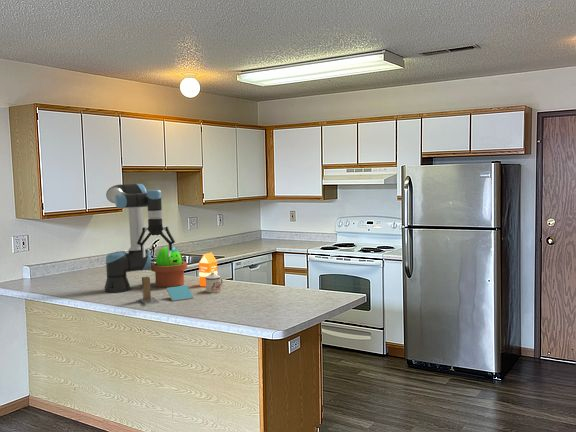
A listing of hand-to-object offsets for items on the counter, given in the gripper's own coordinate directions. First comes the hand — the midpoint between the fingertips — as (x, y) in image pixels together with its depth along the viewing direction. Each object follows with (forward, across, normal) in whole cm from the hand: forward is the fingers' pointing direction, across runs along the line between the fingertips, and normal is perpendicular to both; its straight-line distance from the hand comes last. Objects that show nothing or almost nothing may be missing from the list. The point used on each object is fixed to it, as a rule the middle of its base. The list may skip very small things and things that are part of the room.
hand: (156, 256), depth 301 cm
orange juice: (+26, +23, +42) cm, 55 cm away
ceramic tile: (+23, +11, +6) cm, 26 cm away
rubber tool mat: (+25, -5, -1) cm, 26 cm away
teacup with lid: (+26, +29, +23) cm, 45 cm away
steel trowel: (+25, -5, 0) cm, 25 cm away
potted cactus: (+26, -2, +47) cm, 54 cm away
